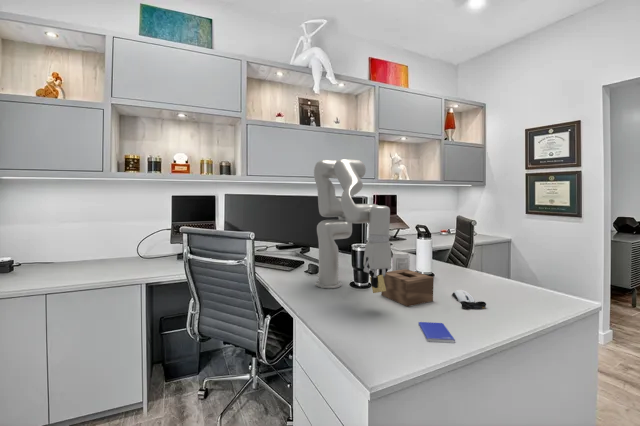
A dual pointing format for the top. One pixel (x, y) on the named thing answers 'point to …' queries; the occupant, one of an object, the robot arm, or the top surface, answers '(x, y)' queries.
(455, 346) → the top surface
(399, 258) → the supplement can
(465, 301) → the computer mouse
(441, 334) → the hard drive
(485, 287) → the top surface
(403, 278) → the wooden tissue box
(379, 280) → the wooden block
